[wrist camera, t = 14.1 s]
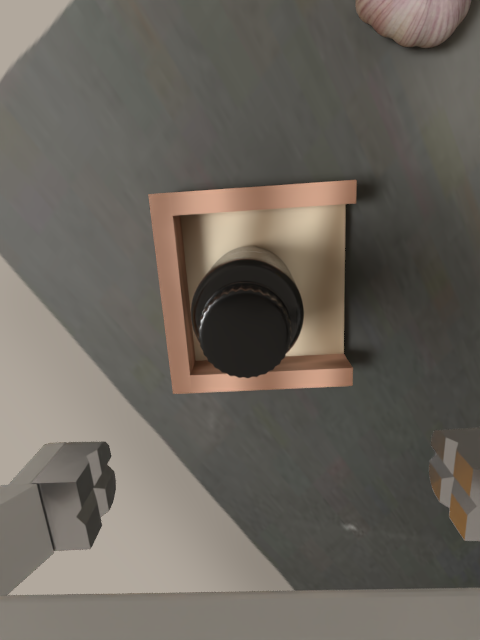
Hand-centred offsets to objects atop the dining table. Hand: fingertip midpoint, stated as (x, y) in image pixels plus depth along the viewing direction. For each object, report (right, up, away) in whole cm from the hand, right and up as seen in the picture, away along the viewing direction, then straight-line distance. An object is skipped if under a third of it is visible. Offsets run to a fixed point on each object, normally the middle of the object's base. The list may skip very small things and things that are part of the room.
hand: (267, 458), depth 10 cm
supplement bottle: (0, +6, +21) cm, 22 cm away
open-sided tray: (+1, +6, +22) cm, 23 cm away
